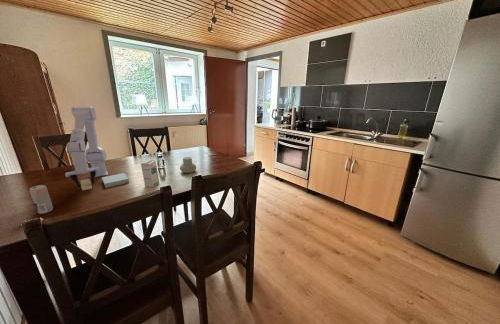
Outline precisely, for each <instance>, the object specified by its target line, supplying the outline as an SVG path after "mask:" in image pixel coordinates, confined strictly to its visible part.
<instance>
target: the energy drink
mask: <svg viewBox="0 0 500 324" xmlns="http://www.w3.org/2000/svg"><path fill="white" fill-rule="evenodd" d="M29 194H30V197H31V200H32V202H33V205H34V208H35V211H36V212H37V214H39V215H42V214H43V215H45V214H47V213H48V214H49V213H50V212H51V211H54V210H53V209H54V205H53V203H52V199H51V196H50V194H49V191H48V188H47V186H46V185H45V184H38V185H33V186H30V187H29Z"/></svg>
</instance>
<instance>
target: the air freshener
mask: <svg viewBox="0 0 500 324" xmlns="http://www.w3.org/2000/svg"><path fill="white" fill-rule="evenodd" d="M196 169H197V166H196V164H195V163H194V162H193V158H192V157H191V156H185V157H183V158H182V164H181V165H180V166H179V170H180V171H181V172H182V173H185V174H192V173H193V172H195V171H196Z"/></svg>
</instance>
